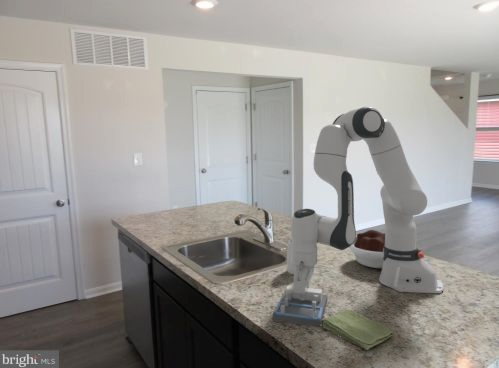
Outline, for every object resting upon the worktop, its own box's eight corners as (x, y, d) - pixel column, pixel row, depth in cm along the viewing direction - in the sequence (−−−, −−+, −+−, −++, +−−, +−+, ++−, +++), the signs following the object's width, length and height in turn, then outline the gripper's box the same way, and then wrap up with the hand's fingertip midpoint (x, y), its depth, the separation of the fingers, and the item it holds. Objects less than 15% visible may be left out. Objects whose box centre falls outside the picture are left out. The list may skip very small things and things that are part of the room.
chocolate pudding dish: (403, 256, 172) (404, 225, 169) (411, 277, 148) (412, 241, 146) (347, 253, 178) (348, 222, 176) (346, 272, 155) (347, 237, 152)
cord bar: (322, 297, 127) (322, 289, 127) (321, 301, 124) (321, 293, 124) (287, 293, 131) (287, 285, 130) (286, 297, 128) (285, 289, 128)
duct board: (327, 300, 129) (327, 288, 129) (320, 326, 112) (320, 312, 112) (285, 295, 134) (285, 283, 133) (272, 319, 117) (272, 306, 116)
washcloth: (368, 355, 99) (368, 344, 98) (318, 327, 113) (318, 318, 112) (396, 338, 107) (396, 327, 106) (346, 314, 120) (346, 305, 120)
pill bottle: (291, 276, 151) (291, 240, 149) (284, 269, 159) (284, 235, 157) (309, 274, 153) (309, 238, 151) (301, 267, 161) (301, 233, 159)
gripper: (308, 269, 115) (308, 311, 117) (317, 248, 134) (317, 285, 136) (288, 267, 117) (288, 308, 119) (300, 247, 136) (300, 283, 138)
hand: (304, 295), depth 128 cm, fingers open, 5 cm apart
